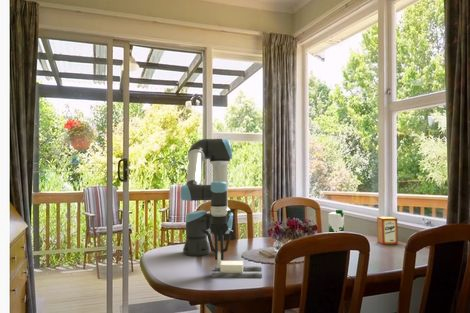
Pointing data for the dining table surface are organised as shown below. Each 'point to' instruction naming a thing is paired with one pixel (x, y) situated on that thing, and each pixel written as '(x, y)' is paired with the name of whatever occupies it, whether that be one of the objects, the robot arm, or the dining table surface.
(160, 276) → the dining table surface
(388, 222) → the baking soda box
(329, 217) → the milk carton
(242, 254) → the dining table surface
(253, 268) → the twin grey rails
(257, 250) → the dining table surface
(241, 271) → the cream block
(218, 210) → the robot arm
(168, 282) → the dining table surface
